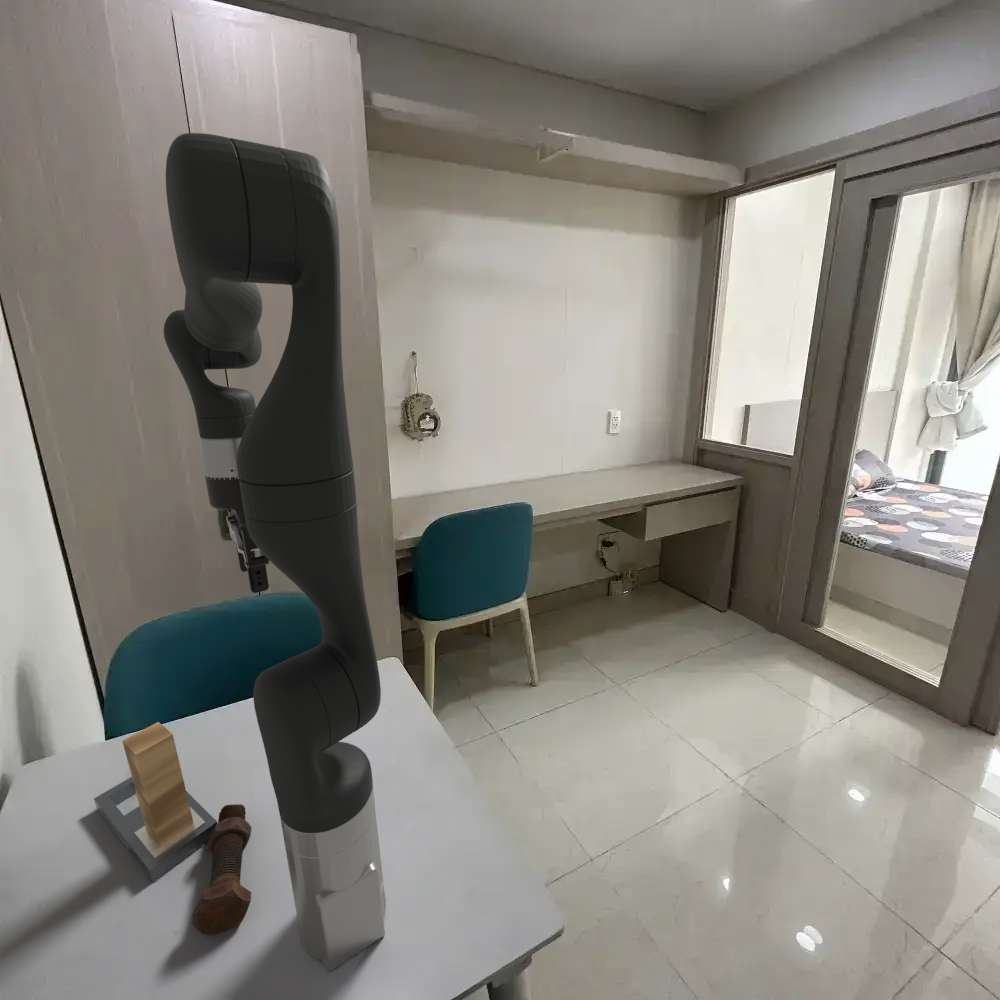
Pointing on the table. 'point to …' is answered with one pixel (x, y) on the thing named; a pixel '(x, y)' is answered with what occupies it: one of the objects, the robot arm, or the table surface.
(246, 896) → the bolt
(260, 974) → the table surface
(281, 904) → the table surface
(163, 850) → the socket plate
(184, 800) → the wooden peg
